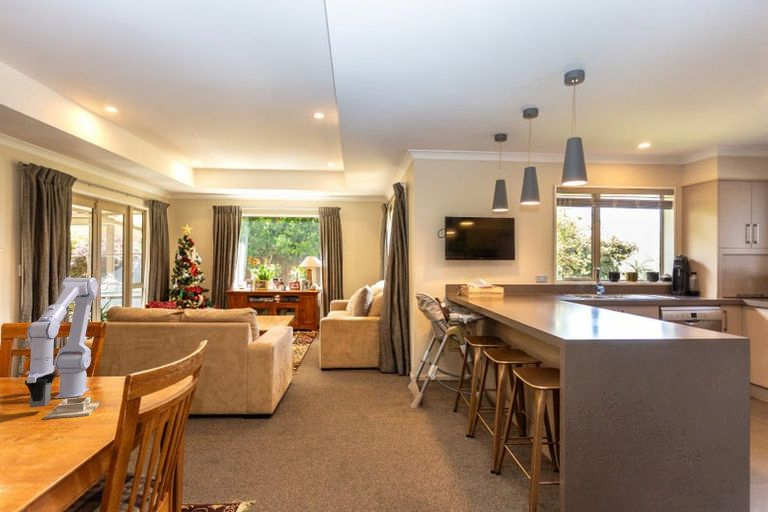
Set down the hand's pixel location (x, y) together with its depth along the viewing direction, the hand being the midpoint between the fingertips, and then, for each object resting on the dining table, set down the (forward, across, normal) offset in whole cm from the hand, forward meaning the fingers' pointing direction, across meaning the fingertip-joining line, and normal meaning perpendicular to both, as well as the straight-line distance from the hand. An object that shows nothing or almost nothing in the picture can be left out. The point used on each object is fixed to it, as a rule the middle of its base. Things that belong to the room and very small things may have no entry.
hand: (40, 398), depth 132 cm
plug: (+2, 0, 0) cm, 2 cm away
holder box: (+4, +2, +10) cm, 11 cm away
